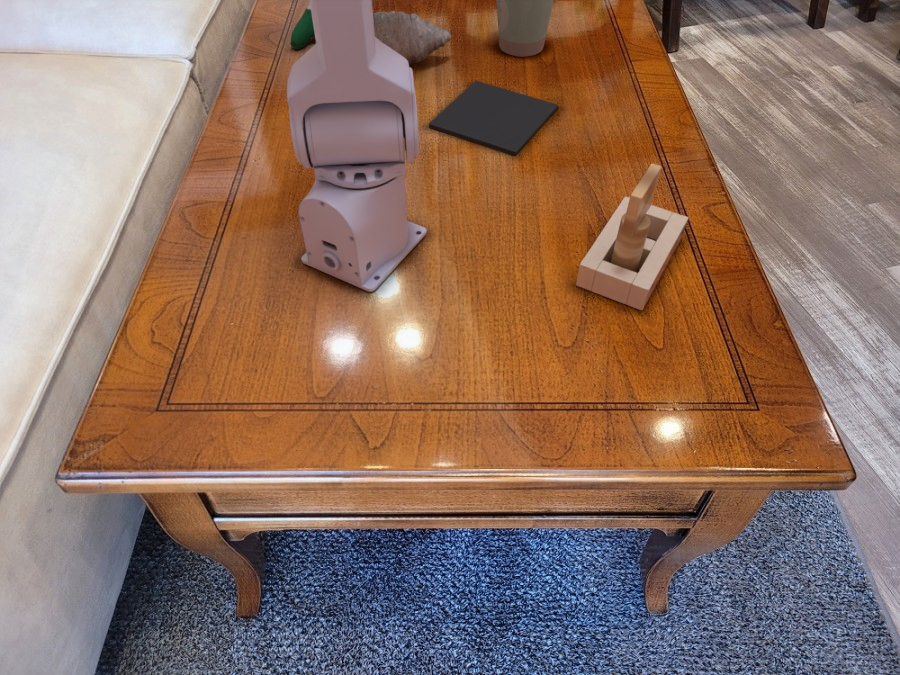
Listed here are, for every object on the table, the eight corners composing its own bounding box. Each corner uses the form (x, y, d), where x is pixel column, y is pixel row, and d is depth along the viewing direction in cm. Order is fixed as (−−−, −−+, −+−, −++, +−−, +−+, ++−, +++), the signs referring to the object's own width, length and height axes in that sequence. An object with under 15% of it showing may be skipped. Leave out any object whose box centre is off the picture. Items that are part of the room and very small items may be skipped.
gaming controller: (364, 63, 90) (371, 16, 89) (355, 52, 86) (362, 4, 85) (298, 55, 91) (305, 9, 91) (287, 44, 87) (294, -3, 87)
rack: (681, 238, 64) (689, 216, 62) (642, 311, 58) (649, 290, 56) (619, 217, 66) (625, 195, 64) (575, 285, 60) (579, 264, 58)
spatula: (624, 298, 59) (651, 201, 51) (598, 288, 60) (621, 191, 52) (643, 265, 62) (671, 168, 54) (618, 256, 62) (642, 159, 55)
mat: (515, 156, 73) (516, 152, 72) (428, 127, 76) (428, 123, 76) (558, 108, 79) (558, 104, 79) (475, 84, 83) (475, 80, 82)
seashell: (457, 50, 82) (429, -16, 77) (358, 98, 85) (325, 37, 80) (452, 37, 87) (426, -27, 82) (359, 82, 90) (328, 23, 85)
